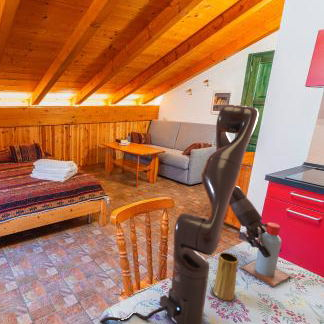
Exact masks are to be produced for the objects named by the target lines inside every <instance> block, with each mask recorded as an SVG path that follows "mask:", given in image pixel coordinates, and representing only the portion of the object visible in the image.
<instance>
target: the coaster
mask: <svg viewBox="0 0 324 324" xmlns="http://www.w3.org/2000/svg"><path fill="white" fill-rule="evenodd" d="M255 264H256V260H254V261H251V262H250V263H248V264H245V265H243V266H241V268H240V269H241V270H244V271H245V272H247V273H248V274H250V275H251V276H254V277H256V278H257V279H259V280H260V281H262V282H264V283H266V284H267V285H269V286H271V287H275V286H277V285H279V284H280V283H283V282H285V281H286V280H289V279H290V278H291V275H290V274H288V273H285V272H283V271H282V270H279V269H278V268H276V270H275V274H274V276H271V277H269V276H264V275H262V274H260V273H258V272H257V271H256V270H255Z"/></svg>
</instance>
